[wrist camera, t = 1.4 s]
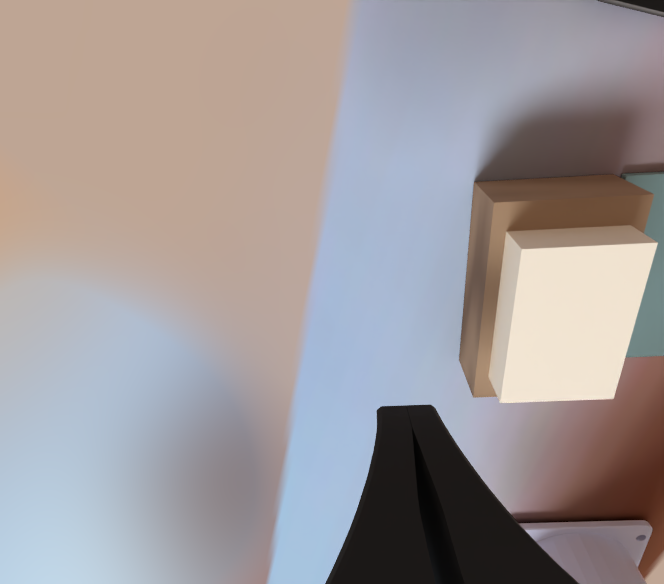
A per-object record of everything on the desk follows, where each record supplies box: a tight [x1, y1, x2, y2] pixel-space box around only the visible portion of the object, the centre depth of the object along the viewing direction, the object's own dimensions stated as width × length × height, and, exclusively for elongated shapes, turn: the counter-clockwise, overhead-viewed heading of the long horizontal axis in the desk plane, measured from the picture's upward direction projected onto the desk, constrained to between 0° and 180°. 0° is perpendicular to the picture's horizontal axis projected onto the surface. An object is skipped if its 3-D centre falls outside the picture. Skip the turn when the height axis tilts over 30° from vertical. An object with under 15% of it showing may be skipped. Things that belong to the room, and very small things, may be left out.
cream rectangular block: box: [489, 225, 658, 403], centre depth 16 cm, size 6×4×2 cm, turn 3°
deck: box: [459, 174, 654, 397], centre depth 18 cm, size 8×5×2 cm, turn 3°
